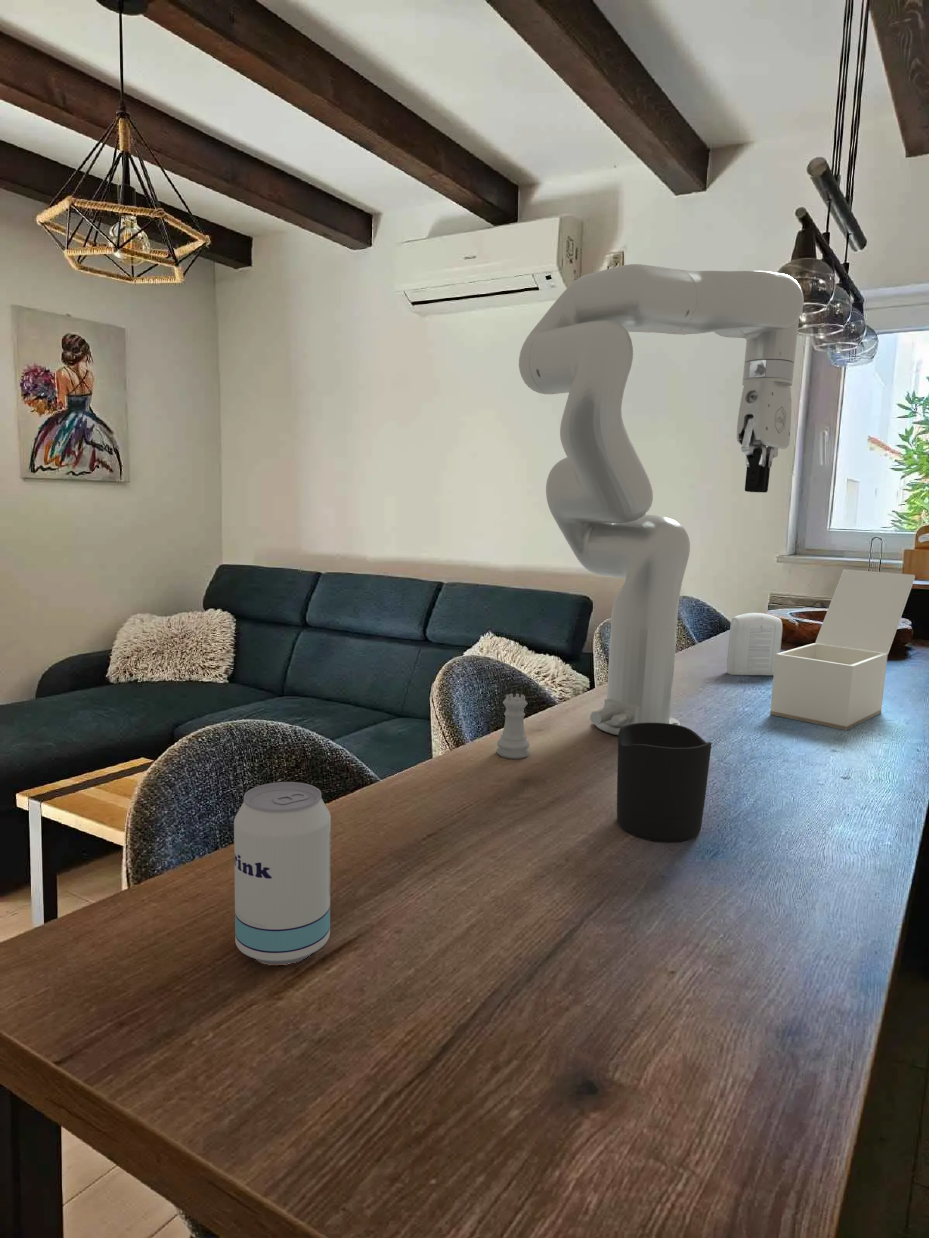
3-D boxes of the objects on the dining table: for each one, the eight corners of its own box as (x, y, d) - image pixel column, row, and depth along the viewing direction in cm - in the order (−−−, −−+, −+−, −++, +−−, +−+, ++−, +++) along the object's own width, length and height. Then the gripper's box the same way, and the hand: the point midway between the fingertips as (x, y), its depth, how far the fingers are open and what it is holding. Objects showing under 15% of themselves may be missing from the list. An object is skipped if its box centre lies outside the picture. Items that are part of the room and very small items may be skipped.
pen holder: (714, 822, 90) (721, 732, 88) (690, 853, 82) (697, 754, 80) (630, 803, 95) (636, 717, 93) (599, 831, 87) (605, 737, 85)
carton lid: (914, 574, 143) (915, 576, 144) (843, 569, 151) (844, 571, 152) (887, 652, 138) (888, 654, 138) (815, 641, 146) (816, 643, 146)
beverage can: (218, 945, 63) (215, 792, 61) (296, 915, 68) (296, 772, 66) (267, 986, 58) (266, 821, 56) (348, 950, 63) (349, 797, 61)
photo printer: (770, 672, 170) (776, 611, 168) (781, 676, 165) (787, 614, 164) (722, 672, 168) (727, 611, 166) (732, 676, 164) (737, 614, 162)
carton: (846, 730, 128) (853, 666, 126) (770, 714, 136) (775, 653, 134) (881, 712, 139) (887, 653, 138) (808, 698, 147) (814, 643, 146)
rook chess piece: (490, 756, 110) (492, 696, 109) (504, 747, 114) (507, 690, 113) (521, 762, 108) (524, 701, 107) (535, 753, 112) (537, 694, 111)
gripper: (770, 366, 125) (757, 490, 128) (810, 381, 136) (797, 495, 138) (723, 370, 130) (712, 488, 133) (765, 384, 141) (754, 493, 144)
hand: (755, 491), depth 136 cm, fingers closed
